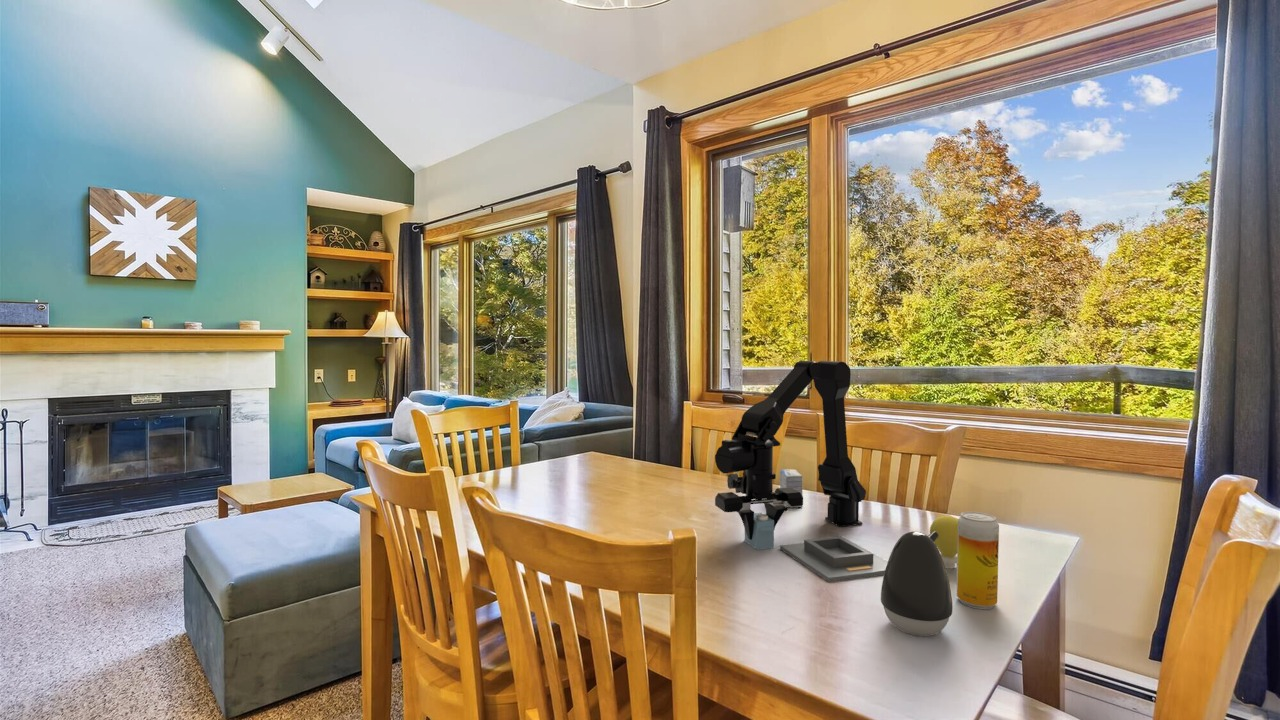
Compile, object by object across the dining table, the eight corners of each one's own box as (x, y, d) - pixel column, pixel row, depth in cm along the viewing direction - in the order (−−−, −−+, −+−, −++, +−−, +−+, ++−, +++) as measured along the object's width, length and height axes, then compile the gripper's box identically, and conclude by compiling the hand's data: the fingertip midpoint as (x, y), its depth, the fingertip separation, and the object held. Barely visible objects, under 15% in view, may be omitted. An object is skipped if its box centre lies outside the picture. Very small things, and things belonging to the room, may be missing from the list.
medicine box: (802, 508, 159) (803, 475, 159) (785, 508, 159) (786, 475, 159) (795, 500, 167) (795, 469, 167) (779, 500, 167) (779, 469, 167)
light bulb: (965, 563, 121) (967, 513, 120) (968, 575, 114) (969, 523, 114) (928, 557, 123) (929, 509, 123) (929, 569, 117) (930, 518, 117)
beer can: (996, 614, 99) (998, 523, 98) (955, 605, 102) (956, 517, 101) (997, 600, 104) (999, 514, 103) (957, 592, 107) (959, 509, 106)
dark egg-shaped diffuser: (966, 632, 93) (968, 535, 92) (927, 651, 87) (929, 548, 86) (905, 607, 101) (907, 518, 100) (866, 623, 95) (867, 529, 95)
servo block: (758, 537, 136) (758, 507, 136) (776, 549, 128) (776, 518, 128) (742, 538, 135) (742, 509, 135) (759, 551, 127) (759, 520, 127)
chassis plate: (844, 541, 133) (845, 529, 133) (901, 572, 116) (901, 558, 116) (780, 548, 129) (780, 536, 129) (828, 582, 111) (828, 567, 111)
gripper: (779, 457, 141) (778, 523, 142) (705, 462, 136) (705, 530, 137) (804, 467, 131) (804, 538, 131) (725, 473, 125) (725, 547, 126)
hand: (758, 538), depth 132 cm, fingers closed on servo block, 4 cm apart
